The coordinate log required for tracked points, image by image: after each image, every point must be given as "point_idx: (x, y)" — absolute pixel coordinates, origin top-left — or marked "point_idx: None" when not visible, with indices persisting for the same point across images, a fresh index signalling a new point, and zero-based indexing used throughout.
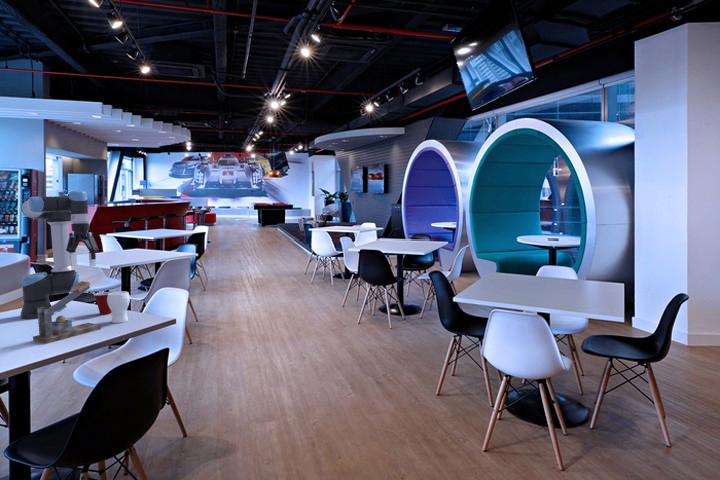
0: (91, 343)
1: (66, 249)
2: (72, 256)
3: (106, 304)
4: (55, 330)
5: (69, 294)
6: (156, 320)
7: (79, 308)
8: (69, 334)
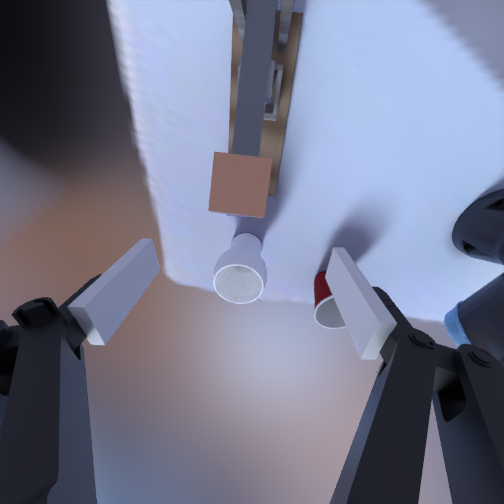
0: (132, 82)
1: (498, 368)
2: (357, 301)
3: (318, 287)
4: None
5: (258, 135)
6: (184, 269)
7: (419, 293)
8: (231, 98)
